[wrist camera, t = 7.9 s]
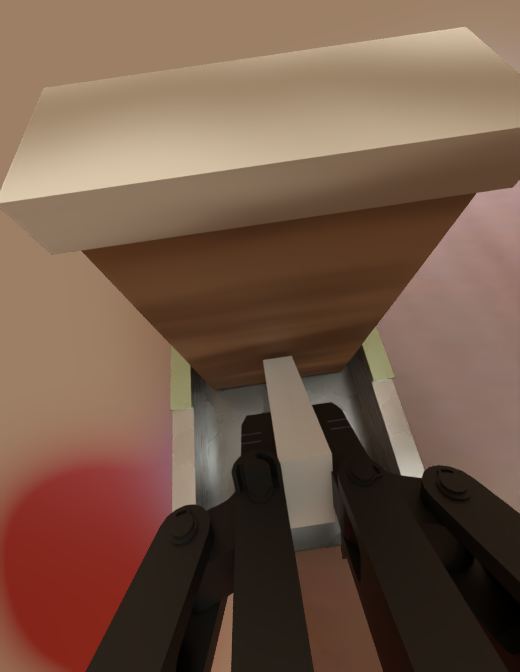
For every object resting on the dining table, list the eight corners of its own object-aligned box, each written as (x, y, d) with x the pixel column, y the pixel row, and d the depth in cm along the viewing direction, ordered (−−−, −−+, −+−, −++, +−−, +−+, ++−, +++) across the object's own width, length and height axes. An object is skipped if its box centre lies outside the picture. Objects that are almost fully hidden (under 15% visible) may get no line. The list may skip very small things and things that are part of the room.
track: (412, 527, 16) (509, 578, 9) (195, 559, 16) (136, 634, 9) (332, 273, 24) (353, 202, 17) (189, 294, 24) (155, 231, 17)
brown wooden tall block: (347, 375, 18) (573, 119, 4) (209, 396, 18) (-6, 203, 4) (333, 327, 20) (465, 27, 6) (207, 345, 20) (44, 88, 6)
